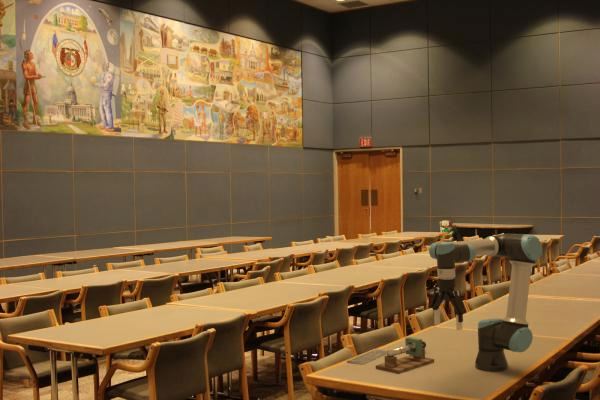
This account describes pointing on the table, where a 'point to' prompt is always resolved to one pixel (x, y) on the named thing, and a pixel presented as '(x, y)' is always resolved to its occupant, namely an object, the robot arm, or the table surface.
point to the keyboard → (368, 356)
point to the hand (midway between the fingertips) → (448, 327)
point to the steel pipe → (401, 350)
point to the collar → (417, 343)
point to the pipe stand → (404, 363)
